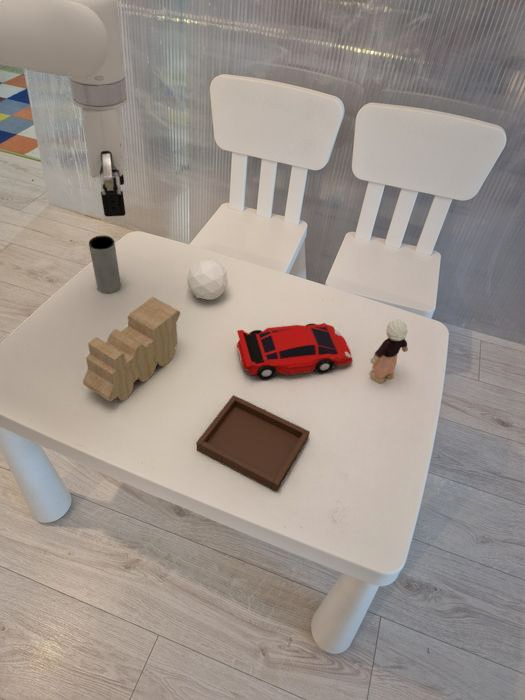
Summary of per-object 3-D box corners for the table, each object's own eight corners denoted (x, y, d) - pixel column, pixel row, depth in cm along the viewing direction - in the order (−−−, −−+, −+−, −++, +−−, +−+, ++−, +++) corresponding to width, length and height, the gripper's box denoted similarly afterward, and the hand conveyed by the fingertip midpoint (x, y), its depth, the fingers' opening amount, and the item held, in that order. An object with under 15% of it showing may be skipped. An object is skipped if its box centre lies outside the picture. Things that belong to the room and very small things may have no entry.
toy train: (86, 395, 84) (74, 352, 77) (158, 337, 95) (154, 294, 87) (111, 412, 82) (101, 369, 75) (182, 351, 93) (180, 308, 85)
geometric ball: (197, 302, 106) (180, 266, 104) (233, 286, 106) (217, 250, 103) (197, 310, 99) (178, 271, 96) (236, 293, 99) (218, 254, 96)
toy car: (356, 368, 93) (362, 349, 89) (247, 388, 88) (248, 368, 84) (334, 328, 99) (339, 308, 96) (231, 344, 95) (232, 324, 91)
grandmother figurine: (385, 359, 95) (403, 306, 86) (402, 372, 93) (423, 319, 84) (357, 379, 91) (373, 326, 82) (374, 393, 89) (393, 340, 80)
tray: (196, 450, 79) (196, 442, 77) (232, 402, 85) (233, 394, 84) (276, 492, 75) (277, 485, 73) (308, 439, 81) (309, 431, 80)
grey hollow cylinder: (118, 294, 102) (111, 250, 95) (94, 292, 102) (85, 248, 94) (123, 279, 105) (116, 236, 98) (100, 278, 105) (92, 234, 98)
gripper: (74, 68, 79) (92, 174, 91) (68, 115, 67) (89, 229, 80) (125, 68, 80) (136, 173, 93) (128, 114, 69) (140, 227, 81)
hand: (115, 199), depth 86 cm, fingers open, 9 cm apart
